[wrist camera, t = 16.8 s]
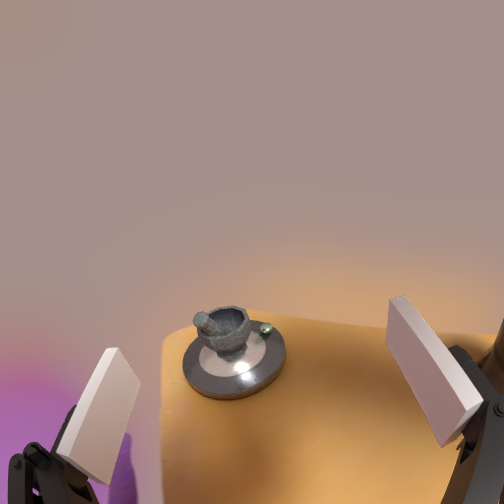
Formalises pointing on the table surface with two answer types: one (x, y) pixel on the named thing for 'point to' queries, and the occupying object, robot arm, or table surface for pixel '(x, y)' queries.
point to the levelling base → (236, 365)
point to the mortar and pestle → (224, 331)
